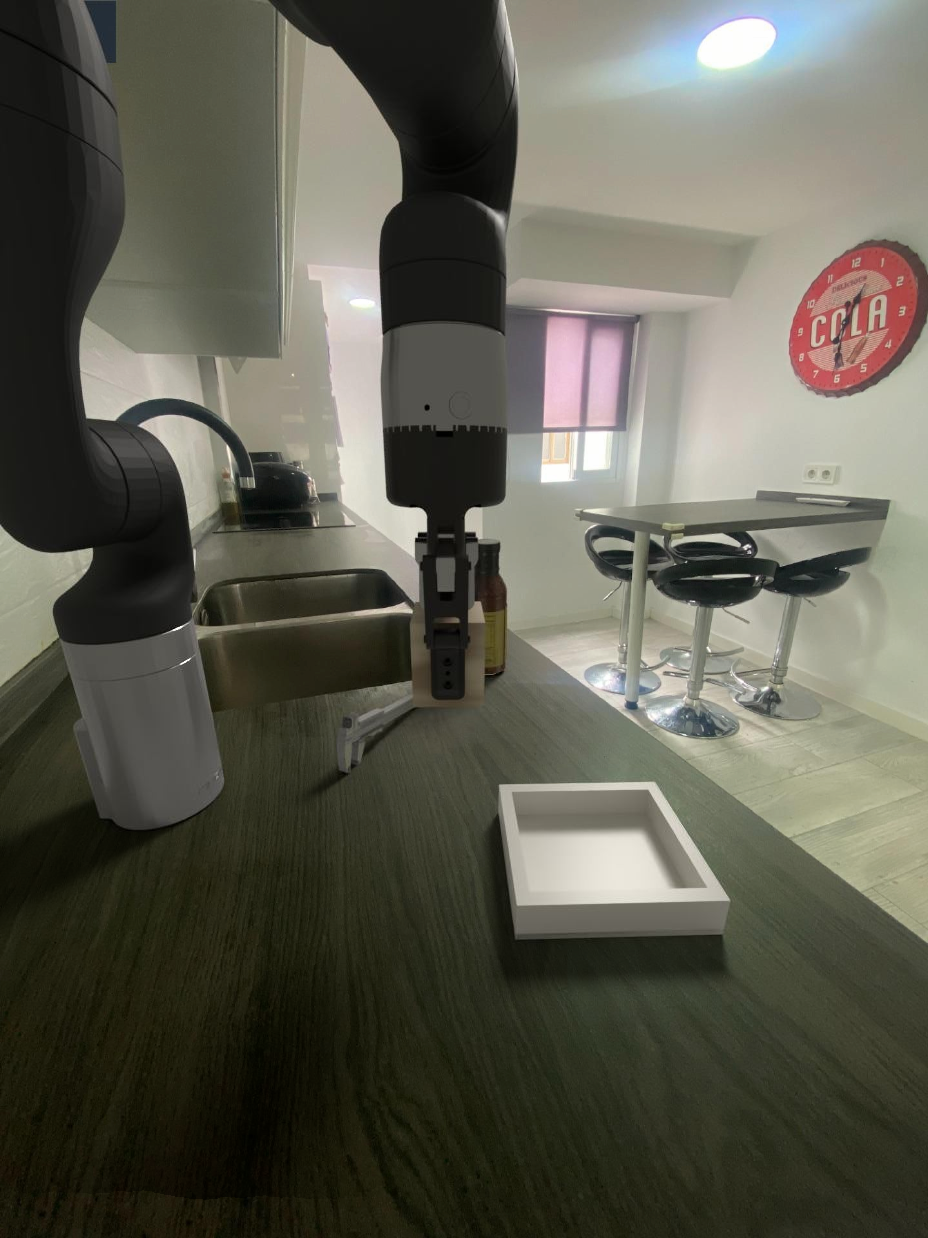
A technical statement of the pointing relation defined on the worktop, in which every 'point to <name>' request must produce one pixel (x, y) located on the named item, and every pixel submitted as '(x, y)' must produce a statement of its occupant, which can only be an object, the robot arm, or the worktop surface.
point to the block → (472, 659)
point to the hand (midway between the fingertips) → (448, 678)
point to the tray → (603, 864)
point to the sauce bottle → (492, 604)
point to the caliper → (365, 730)
